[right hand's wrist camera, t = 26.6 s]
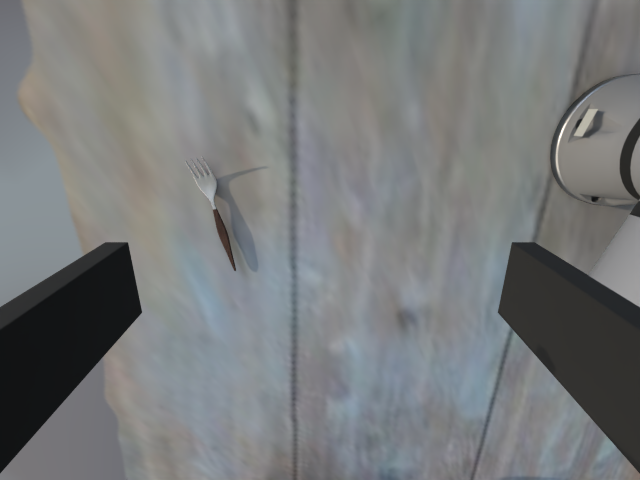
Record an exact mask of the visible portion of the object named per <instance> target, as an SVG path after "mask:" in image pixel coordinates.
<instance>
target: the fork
mask: <svg viewBox="0 0 640 480" xmlns="http://www.w3.org/2000/svg"><path fill="white" fill-rule="evenodd" d="M196 159H197V158H196ZM202 159H203V161H204V163H205V165H206V167H207V169H208V171H209V173H210V175H208V174H207V172H206V171H205V169H204V168H203V166H202V165H201V163H200V162H199V160H198V159H197V161H198V163H199V165H200V167H201V169H202V171H203V173H204V176H203V175H202V174H201V173H200V171H199V170H198V168H197V167H196V165H195V164H194V162H193V161H192V160H191V161H192V163H193V165H194V167H195V169H196V171H197V173H198V175H199V177H197V176H196V174H195V173H194V171H193V170H192V168H191V167H190V166H189V164H188V163H187V161H186V160H185V162H186V164H187V165H188V167H189V169H190V171H191V173H192V174H193V176H194V179H195V181H196V183H197V185H198V187H199V188H200V190H201V191H202V192H203V193H204V194H205V195H206V196H207V197H208V199H209V200H210V202H211V204H212V208H213V212H214V217H215V222H216V227H217V231H218V234H219V237H220V239H221V242H222V244H223V246H224V248H225V250H226V253H227V255H228V257H229V260H230V262H231V264H232V266H233V269H234V271H236V268H235V263H234V259H233V255H232V251H231V246H230V242H229V237H228V233H227V231H226V228H225V226H224V223H223V221H222V219H221V217H220V215H219V212H218V210H217V208H216V206H215V203H214V197H215V193H216V189H217V180H216V178H215V176H214V174H213V172H212V171H211V169H210V167H209V166H208V164H207V163H206V161H205V160H204V158H203V157H202Z"/></svg>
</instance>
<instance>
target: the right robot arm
mask: <svg viewBox="0 0 640 480" xmlns="http://www.w3.org/2000/svg"><path fill="white" fill-rule="evenodd" d="M550 159H551V167H552V171H553V174H554V177H555V179H556V181H557V183H558V184H559V185H560V187H561V188H562V189H563V190H564V191H565V192H566V193H568V194H569V195H570V196H572V197H574V198H576V199H578V200H581V201H584V202H587V203H590V204H595V205H603V206H619V205H635V204H636V206H635V207H634V209H633V210H632V212H631V213H630V214H629V216H628V217H627V219H626V220H625V222H624V223H623V224H622V226H621V227H620V229H619V230H618V232H617V233H616V235H615V236H614V238H613V239H612V241H611V242H610V244H609V245H608V247H607V248H606V250H605V251H604V252H603V254H602V255H601V257H600V258H599V260H598V261H597V263H596V264H595V266H594V267H593V269H592V270H591V272H590V273H589V275H587V274H585V273H583V272H582V271H580V270H578V269H577V268H575V267H574V266H572V265H570V264H569V263H567V262H565V261H564V260H562V259H561V258H559V257H557V256H556V255H554V254H552V253H551V252H549V251H548V250H546V249H544V248H543V247H541V246H539V245H538V244H536V243H535V242H512V246H511V251H510V255H509V260H508V265H507V270H506V275H505V280H504V285H503V290H502V295H501V300H500V305H499V310H498V313H499V314H500V315H501V316H502V318H503V319H504V320H505V321H506V322H507V323H508V324H509V326H510V327H511V328H512V329H513V330H514V331H515V332H516V333H517V335H518V336H519V337H520V338H521V339H522V340H523V341H524V343H525V344H526V345H527V346H528V347H529V348H530V349H531V350H532V352H533V353H534V354H535V355H536V356H537V357H538V358H539V360H540V361H541V362H542V363H543V364H544V365H545V366H546V367H547V369H548V370H549V371H550V372H551V373H552V374H553V375H554V377H555V378H556V379H557V380H558V381H559V382H560V383H561V385H562V386H563V387H564V388H565V389H566V390H567V391H568V392H569V394H570V395H571V396H572V397H573V398H574V399H575V400H576V402H577V403H578V404H579V405H580V406H581V407H582V408H583V409H584V411H585V412H586V413H587V414H588V415H589V416H590V417H591V419H592V420H593V421H594V422H595V423H596V424H597V425H598V426H599V428H600V429H601V430H602V431H603V432H604V433H605V434H606V436H607V437H608V438H609V439H610V440H611V441H612V442H613V443H614V445H615V446H616V447H617V448H618V449H619V450H620V451H621V453H622V454H623V455H624V456H625V457H626V458H627V459H628V460H629V462H630V463H631V464H632V465H633V466H634V467H635V468H636V470H637V471H638V472H639V473H640V74H632V75H624V76H618V77H614V78H611V79H608V80H606V81H603V82H601V83H599V84H597V85H596V86H594V87H592V88H591V89H589V90H588V91H587V92H585V93H584V94H583V95H582V96H580V97H579V98H578V99H577V100H576V101H575V102H574V103H573V104H572V105H571V107H570V108H569V109H568V110H567V112H566V113H565V114H564V116H563V118H562V119H561V121H560V123H559V125H558V127H557V129H556V132H555V134H554V137H553V141H552V145H551V157H550ZM141 313H142V310H141V305H140V300H139V295H138V290H137V285H136V280H135V275H134V270H133V265H132V260H131V255H130V251H129V246H128V242H105V243H104V244H102V245H101V246H99V247H97V248H96V249H94V250H92V251H91V252H89V253H88V254H86V255H84V256H83V257H81V258H79V259H78V260H76V261H75V262H73V263H71V264H70V265H68V266H66V267H65V268H63V269H62V270H60V271H58V272H57V273H55V274H53V275H52V276H50V277H49V278H47V279H45V280H44V281H42V282H40V283H39V284H37V285H35V286H34V287H32V288H31V289H29V290H27V291H26V292H24V293H22V294H21V295H19V296H18V297H16V298H14V299H13V300H11V301H9V302H8V303H6V304H5V305H3V306H1V307H0V473H1V472H2V471H3V470H4V468H5V467H6V466H7V465H8V464H9V463H10V462H11V460H12V459H13V458H14V457H15V456H16V455H17V454H18V453H19V451H20V450H21V449H22V448H23V447H24V446H25V445H26V443H27V442H28V441H29V440H30V439H31V438H32V437H33V436H34V434H35V433H36V432H37V431H38V430H39V429H40V428H41V426H42V425H43V424H44V423H45V422H46V421H47V420H48V419H49V417H50V416H51V415H52V414H53V413H54V412H55V411H56V409H57V408H58V407H59V406H60V405H61V404H62V403H63V401H64V400H65V399H66V398H67V397H68V396H69V395H70V394H71V392H72V391H73V390H74V389H75V388H76V387H77V386H78V385H79V383H80V382H81V381H82V380H83V379H84V378H85V377H86V375H87V374H88V373H89V372H90V371H91V370H92V369H93V367H94V366H95V365H96V364H97V363H98V362H99V361H100V360H101V358H102V357H103V356H104V355H105V354H106V353H107V352H108V350H109V349H110V348H111V347H112V346H113V345H114V344H115V343H116V341H117V340H118V339H119V338H120V337H121V336H122V335H123V333H124V332H125V331H126V330H127V329H128V328H129V327H130V326H131V324H132V323H133V322H134V321H135V320H136V319H137V318H138V316H139V315H140V314H141Z"/></svg>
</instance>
